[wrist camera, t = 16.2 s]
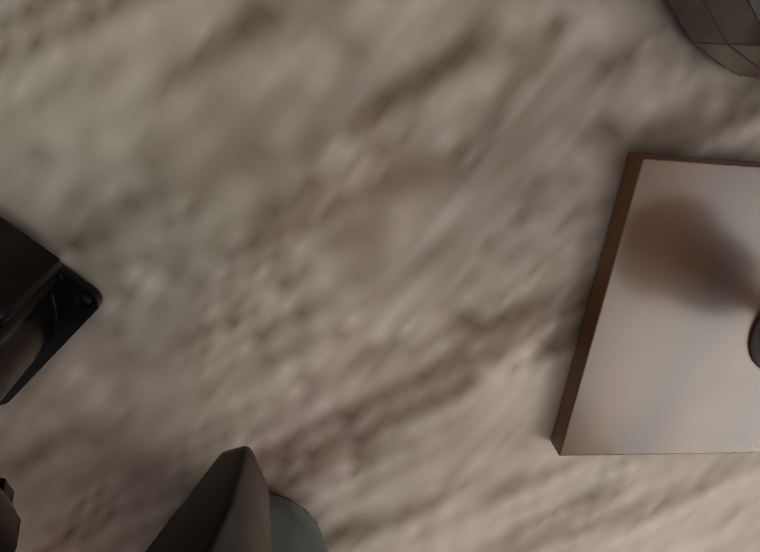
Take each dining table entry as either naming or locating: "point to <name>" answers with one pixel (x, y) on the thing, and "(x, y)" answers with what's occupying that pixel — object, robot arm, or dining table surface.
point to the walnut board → (671, 316)
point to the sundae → (756, 344)
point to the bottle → (293, 528)
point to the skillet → (724, 31)
